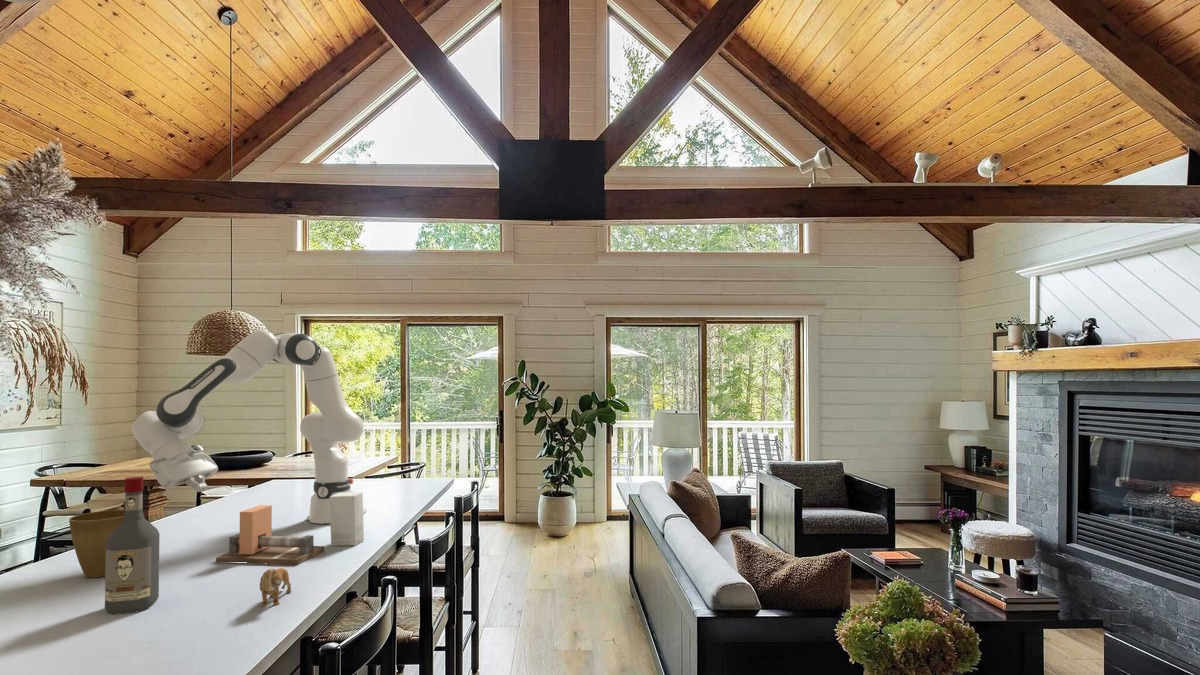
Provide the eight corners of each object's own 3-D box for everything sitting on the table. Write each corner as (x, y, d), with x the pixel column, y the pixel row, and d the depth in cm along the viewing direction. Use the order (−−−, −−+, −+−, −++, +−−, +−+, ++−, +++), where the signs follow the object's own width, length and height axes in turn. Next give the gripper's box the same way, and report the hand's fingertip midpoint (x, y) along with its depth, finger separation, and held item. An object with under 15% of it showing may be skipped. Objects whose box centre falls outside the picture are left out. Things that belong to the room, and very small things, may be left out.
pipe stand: (247, 549, 205) (247, 529, 205) (324, 551, 201) (324, 531, 202) (215, 562, 191) (216, 541, 191) (297, 565, 188) (297, 543, 188)
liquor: (117, 602, 160) (119, 476, 161) (161, 598, 162) (163, 473, 163) (100, 616, 151) (103, 482, 152) (147, 611, 153) (149, 480, 155)
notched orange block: (259, 545, 202) (259, 505, 202) (271, 545, 201) (271, 505, 202) (239, 554, 193) (239, 511, 193) (252, 554, 192) (252, 512, 193)
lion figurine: (281, 610, 153) (281, 570, 154) (256, 612, 152) (256, 572, 152) (293, 589, 168) (293, 553, 168) (270, 591, 166) (270, 554, 167)
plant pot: (142, 572, 182) (143, 513, 183) (73, 586, 171) (74, 523, 172) (128, 562, 192) (129, 506, 193) (63, 574, 182) (64, 515, 182)
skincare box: (364, 540, 213) (364, 491, 214) (354, 546, 206) (354, 495, 207) (339, 540, 214) (339, 491, 214) (328, 546, 207) (329, 495, 208)
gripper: (153, 454, 191) (184, 489, 189) (204, 445, 211) (232, 476, 209) (139, 469, 191) (169, 504, 190) (191, 459, 212) (219, 490, 210)
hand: (203, 489), depth 200 cm, fingers closed
